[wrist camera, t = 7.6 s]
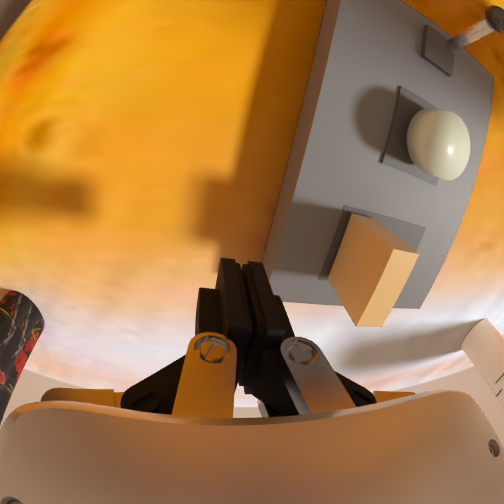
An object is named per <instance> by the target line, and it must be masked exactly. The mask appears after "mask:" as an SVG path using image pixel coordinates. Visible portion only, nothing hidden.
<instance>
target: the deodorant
mask: <svg viewBox="0 0 504 504" xmlns="http://www.w3.org/2000/svg"><path fill="white" fill-rule="evenodd" d="M43 329H44V320H43V317H42V315H41V313H40V311H39V310H38V308H37V307H36V306H35V304H34V303H33V302H32V301H31V300H30V299H29V298H27V297H26V296H25V295H23V294H21V293H19V292H16V291H9V292H8V293H7V294H6V295H5V296H4V297H3V299H2V300H1V301H0V424H1V421H2V418H3V415H4V413H5V410H6V407H7V405H8V402H9V400H10V397H11V395H12V392H13V390H14V388H15V385H16V383H17V381H18V379H19V376H20V374H21V372H22V370H23V368H24V366H25V364H26V362H27V360H28V358H29V356H30V354H31V352H32V350H33V348H34V346H35V344H36V342H37V340H38V338H39V337H40V335H41V333H42V331H43Z"/></svg>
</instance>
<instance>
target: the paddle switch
mask: <svg viewBox="0 0 504 504" xmlns="http://www.w3.org/2000/svg"><path fill="white" fill-rule="evenodd" d="M418 256H419V254H418V253H417V252H416V251H415V250H414V249H412V248H411V247H410V246H409V245H408V244H406V243H405V242H404V241H403V240H402V239H400V238H399V237H398V236H397V235H395V234H394V233H393V232H392V231H390V230H389V229H388V228H387V227H385V226H384V225H383V224H382V223H380V222H379V221H378V220H376V219H374V218H370V217H366V216H362V215H358V214H354V213H352V214H351V217H350V220H349V223H348V225H347V228H346V231H345V234H344V237H343V239H342V242H341V245H340V248H339V250H338V253H337V256H336V258H335V261H334V263H333V266H332V269H331V271H330V274H329V276H328V281H329V283H330V284H331V286H332V287H333V289H334V291H335V292H336V294H337V296H338V297H339V299H340V301H341V302H342V304H343V306H344V307H345V309H346V311H347V312H348V314H349V316H350V317H351V319H352V321H353V323H354V324H355V326H356V327H382V325H383V324H384V322H385V320H386V318H387V317H388V315H389V313H390V311H391V310H392V308H393V306H394V304H395V302H396V300H397V299H398V297H399V295H400V293H401V291H402V289H403V287H404V285H405V283H406V281H407V279H408V277H409V275H410V273H411V271H412V269H413V267H414V265H415V262H416V260H417V258H418Z"/></svg>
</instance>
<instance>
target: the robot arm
mask: <svg viewBox="0 0 504 504" xmlns="http://www.w3.org/2000/svg"><path fill="white" fill-rule="evenodd" d="M238 383H239V386H244V392H245V394H252V395H253V396H255V397H256V398H257V399H258V401H257V403H258V407H259V410H260V413H261V415H262V418H233V407H234V393H235V390H236V387H237V384H238ZM0 504H504V448H503V446H502V444H501V442H500V440H499V438H498V436H497V434H496V433H495V431H494V429H493V427H492V426H491V424H490V422H489V420H488V419H487V417H486V416H485V414H484V413H483V411H482V410H481V408H480V407H479V405H478V404H477V403H476V402H475V400H474V399H473V398H472V397H471V396H470V395H468V394H466V393H464V392H461V391H454V390H435V391H427V392H423V393H419V394H415V393H413V392H389V391H373V392H372V393H371V392H370V391H369V390H367V389H366V388H364V387H362V386H360V385H359V384H357V383H355V382H353V381H351V380H350V379H348V378H346V377H344V376H342V375H341V374H339V373H337V372H335V371H334V370H333V369H332V367H331V365H330V364H329V362H328V361H327V359H326V357H325V356H324V354H323V353H322V351H321V349H320V348H319V347H318V346H317V345H316V344H315V343H314V342H312V341H310V340H308V339H306V338H302V337H295V335H294V332H293V330H292V327H291V324H290V321H289V319H288V316H287V313H286V311H285V308H284V305H283V303H282V300H281V298H280V296H278V295H274V294H273V291H272V288H271V286H270V283H269V280H268V277H267V274H266V271H265V268H264V265H263V263H260V262H252V261H249V262H248V264H243V266H242V270H241V267H240V264H239V263H236V262H235V259H227V258H221V260H220V265H219V270H218V276H217V282H216V287H215V289H209V288H199V293H198V301H197V309H196V323H195V336H194V337H193V338H192V339H191V341H190V343H189V345H188V349H187V353H186V355H184V356H183V357H181V358H179V359H178V360H176V361H174V362H173V363H171V364H169V365H168V366H166V367H164V368H163V369H161V370H159V371H158V372H156V373H154V374H153V375H151V376H149V377H147V378H146V379H144V380H142V381H140V382H139V383H137V384H135V385H133V386H132V387H130V388H129V389H127V390H126V391H125V392H114V390H113V389H71V388H52V389H50V390H48V391H46V393H45V394H44V395H43V396H42V398H41V402H34V403H29V404H25V405H22V406H20V407H18V408H16V409H15V410H14V411H12V412H11V413H10V414H9V416H8V417H7V418H6V420H5V422H4V423H3V425H2V427H1V429H0Z"/></svg>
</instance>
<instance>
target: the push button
mask: <svg viewBox="0 0 504 504" xmlns="http://www.w3.org/2000/svg"><path fill="white" fill-rule="evenodd" d="M407 147H408V152H409V155H410V157H411V159H412V161H413V163H414V164H415V165H416V166H417V167H418V168H419V169H420V170H422V171H424V172H427V173H429V174H432V175H434V176H436V177H439V178H441V179H443V180H453V179H456V178H457V177H458V176H460V175H461V173H462V172H463V171H464V169H465V167H466V165H467V163H468V160H469V155H470V137H469V133H468V130H467V127H466V125H465V123H464V122H463V120H462V119H461V118H460V117H459V116H458V115H457V114H455V113H453V112H450V111H443V110H435V109H423V110H420V111H419V112H417V113H416V114H415V115H414V116H413V118H412V119H411V121H410V124H409V127H408V131H407Z"/></svg>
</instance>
